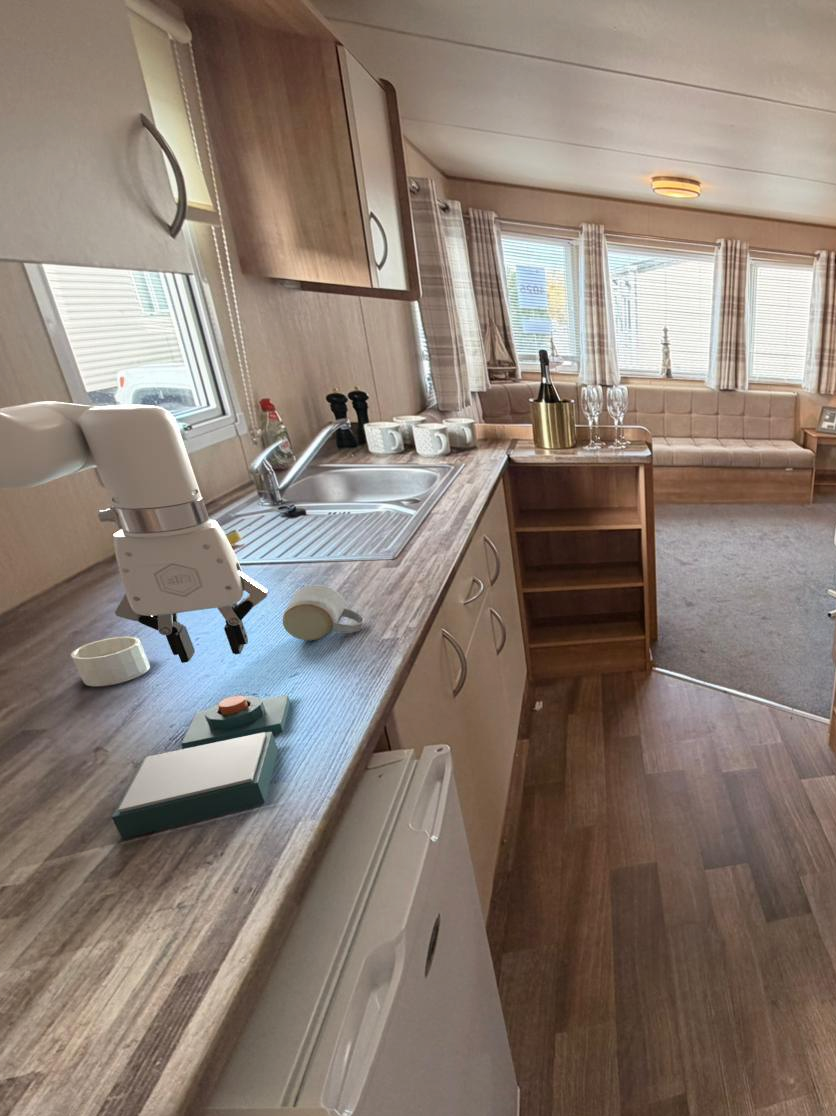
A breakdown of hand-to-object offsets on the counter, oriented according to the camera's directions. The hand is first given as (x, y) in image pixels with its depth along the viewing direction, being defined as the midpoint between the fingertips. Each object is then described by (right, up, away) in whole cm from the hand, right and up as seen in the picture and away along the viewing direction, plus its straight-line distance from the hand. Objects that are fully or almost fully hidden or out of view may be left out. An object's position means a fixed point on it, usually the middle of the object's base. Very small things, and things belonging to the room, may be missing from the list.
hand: (213, 652), depth 81 cm
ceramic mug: (-8, +1, +30) cm, 31 cm away
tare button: (0, -8, +3) cm, 9 cm away
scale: (+6, -16, -7) cm, 18 cm away
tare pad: (-1, -10, +5) cm, 11 cm away
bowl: (-28, -5, +15) cm, 32 cm away
